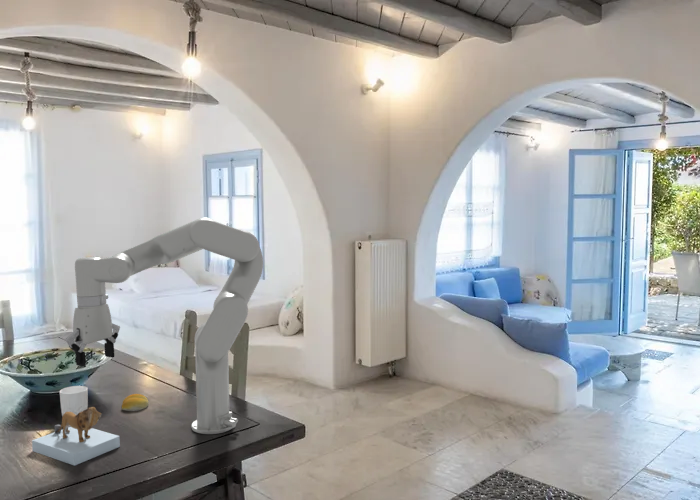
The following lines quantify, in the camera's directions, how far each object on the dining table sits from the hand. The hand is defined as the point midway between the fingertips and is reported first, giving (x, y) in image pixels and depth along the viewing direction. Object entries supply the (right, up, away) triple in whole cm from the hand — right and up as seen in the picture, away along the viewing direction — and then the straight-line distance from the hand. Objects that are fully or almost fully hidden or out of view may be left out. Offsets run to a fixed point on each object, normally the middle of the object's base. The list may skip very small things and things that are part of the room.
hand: (95, 361), depth 175 cm
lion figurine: (-2, -20, -6) cm, 21 cm away
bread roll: (+1, -20, +28) cm, 35 cm away
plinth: (-3, -23, -6) cm, 24 cm away
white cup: (-12, -21, +15) cm, 29 cm away
